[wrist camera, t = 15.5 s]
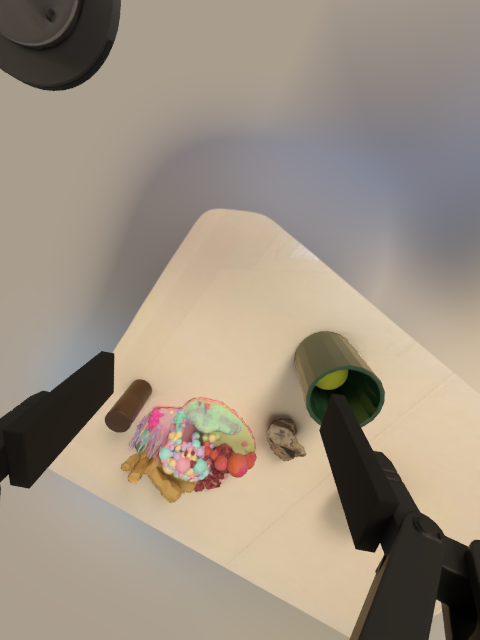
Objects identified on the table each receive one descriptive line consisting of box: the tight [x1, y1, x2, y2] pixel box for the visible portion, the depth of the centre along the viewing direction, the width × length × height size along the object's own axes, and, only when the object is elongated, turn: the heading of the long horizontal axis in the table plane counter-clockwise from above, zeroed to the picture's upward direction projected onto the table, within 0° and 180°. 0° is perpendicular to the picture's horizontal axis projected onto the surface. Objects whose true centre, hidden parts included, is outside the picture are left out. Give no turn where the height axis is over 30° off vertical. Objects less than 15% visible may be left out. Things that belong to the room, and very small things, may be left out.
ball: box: [316, 370, 348, 390], centre depth 47 cm, size 7×7×7 cm
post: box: [105, 380, 152, 432], centre depth 51 cm, size 4×4×10 cm
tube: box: [295, 332, 385, 427], centre depth 45 cm, size 11×11×13 cm
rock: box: [266, 419, 306, 461], centre depth 54 cm, size 9×7×10 cm
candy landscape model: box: [121, 397, 256, 503], centre depth 55 cm, size 25×24×9 cm
